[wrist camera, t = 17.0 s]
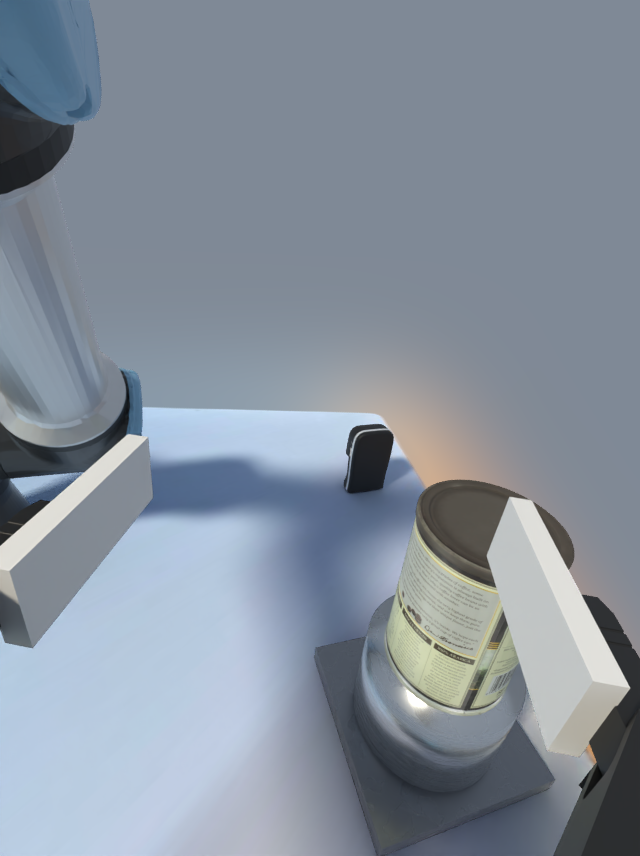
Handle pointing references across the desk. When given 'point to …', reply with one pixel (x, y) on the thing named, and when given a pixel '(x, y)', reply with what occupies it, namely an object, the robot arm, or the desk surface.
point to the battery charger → (367, 457)
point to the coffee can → (456, 600)
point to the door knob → (422, 746)
